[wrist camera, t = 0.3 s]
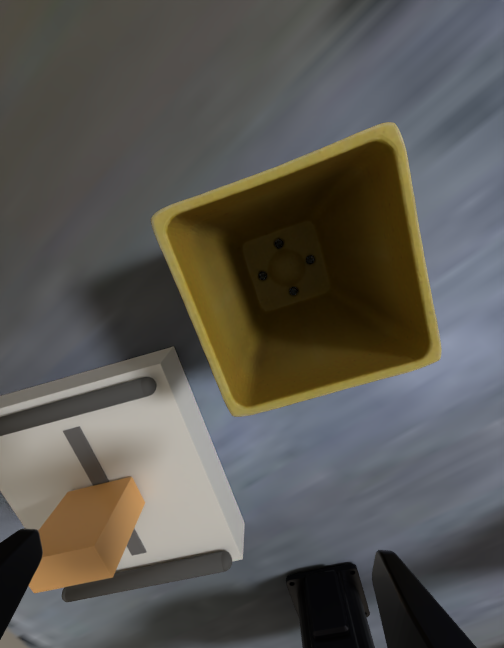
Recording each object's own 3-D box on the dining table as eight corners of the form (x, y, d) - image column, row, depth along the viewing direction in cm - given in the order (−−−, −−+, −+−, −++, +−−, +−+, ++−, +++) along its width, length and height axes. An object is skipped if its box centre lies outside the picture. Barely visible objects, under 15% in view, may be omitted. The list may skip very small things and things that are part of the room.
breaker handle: (145, 502, 21) (112, 577, 16) (82, 517, 21) (34, 593, 17) (132, 476, 20) (94, 546, 16) (67, 491, 21) (13, 563, 16)
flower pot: (243, 347, 21) (231, 423, 12) (197, 225, 19) (143, 213, 10) (365, 309, 20) (445, 363, 11) (332, 175, 18) (402, 114, 9)
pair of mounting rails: (234, 556, 22) (233, 574, 21) (72, 589, 24) (62, 607, 23) (154, 371, 18) (148, 380, 17) (-37, 424, 20) (-55, 436, 19)
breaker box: (244, 523, 25) (242, 560, 22) (89, 555, 27) (68, 595, 24) (173, 346, 21) (159, 364, 18) (-7, 398, 22) (-48, 422, 20)
